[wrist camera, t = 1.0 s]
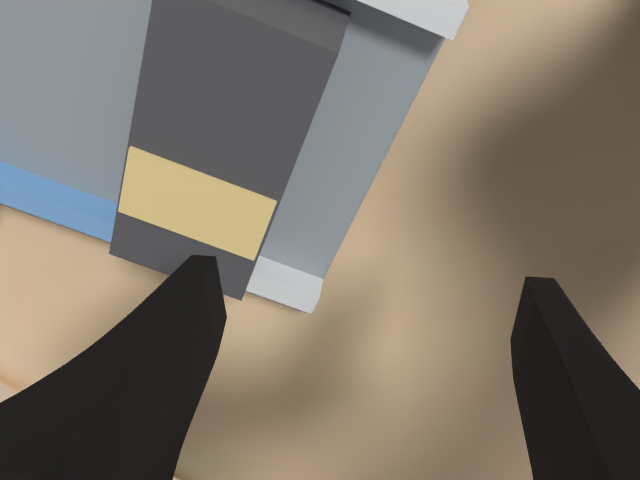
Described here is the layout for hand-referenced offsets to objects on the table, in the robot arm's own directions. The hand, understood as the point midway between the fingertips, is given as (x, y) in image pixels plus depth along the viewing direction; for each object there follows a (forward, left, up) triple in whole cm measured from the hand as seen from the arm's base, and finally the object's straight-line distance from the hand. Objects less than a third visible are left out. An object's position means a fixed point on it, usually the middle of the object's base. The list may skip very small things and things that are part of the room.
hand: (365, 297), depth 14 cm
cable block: (+5, +2, -8) cm, 10 cm away
